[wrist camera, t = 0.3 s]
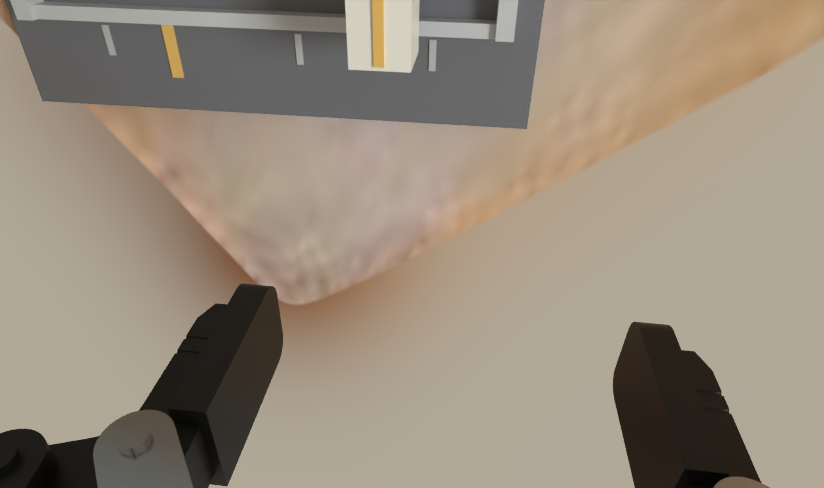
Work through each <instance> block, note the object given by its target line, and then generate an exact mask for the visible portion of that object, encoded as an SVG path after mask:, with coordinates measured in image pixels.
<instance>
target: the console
mask: <svg viewBox="0 0 824 488" xmlns="http://www.w3.org/2000/svg"><path fill="white" fill-rule="evenodd" d="M5 1H6V3H7V6H8V9H9V11H10V14H11V17H12V19H13V22H14V25H15V28H16V30H17V33H18V36H19V38H20V41H21V44H22V46H23V49H24V52H25V55H26V57H27V60H28V62H29V65H30V68H31V71H32V73H33V76H34V79H35V82H36V84H37V87H38V90H39V92H40V95H41V98H42V100H43V101H53V102H71V103H88V104H105V105H123V106H140V107H157V108H175V109H192V110H209V111H226V112H244V113H261V114H278V115H296V116H313V117H330V118H348V119H365V120H382V121H400V122H417V123H434V124H452V125H469V126H486V127H503V128H521V129H527V123H528V116H529V109H530V102H531V94H532V87H533V80H534V73H535V66H536V59H537V51H538V44H539V37H540V30H541V23H542V16H543V8H544V1H545V0H420V12H419V49H418V55H417V57H416V60H415V63H414V65H413V68H412V71H411V73H406V72H386V71H366V70H348V53H347V33H346V13H345V0H5Z"/></svg>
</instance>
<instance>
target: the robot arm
mask: <svg viewBox="0 0 824 488" xmlns="http://www.w3.org/2000/svg"><path fill="white" fill-rule="evenodd" d="M282 346H283V332H282V325H281V319H280V311H279V305H278V298H277V292H276V289H275V288H274V287H273V286H263V285H252V284H240V285H239V286H238V288H237V289H236V291H235V293H234V294H233V296H232V298H231V299H230V302H229V303H228V305H226V304H215V305H213V306H212V307H211V308H210V309H208V310H207V311H206V312H205V313H204V314H202V315H201V316H199V317H198V318H197V320H196V321H195V323H194V324H193V326H192V328H191V329H190V331H189V332H188V334H187V337H186V339H184V340H183V342H182V343H181V345H180V347H179V348H178V352H177V354H175V355H174V356H173V358H172V359H171V361H170V362H169V364H168V366H167V367H166V369H165V370H164V372H163V374H162V375H161V377H160V378H159V380H158V382H157V383H156V385H155V386H154V388H153V390H152V391H151V393H150V394H149V396H148V397H147V399H146V401H145V402H144V404H143V406H142V407H141V408H140V410H139V411H136V412H133V413H129V414H127V415H125V416H123V417H121V418H119V419H118V420H116V421H114V422H113V423H112V424H110V425H109V426H108V427H107V428H106V429H105V430H104V431H103V432H102V434H101V435H100V436H98V437H93V438H88V439H83V440H77V441H71V442H65V443H60V444H53V445H48V444H47V442H46V440H45V438H44V437H43V436H42V435H41V434H40V433H38V432H36V431H34V430H30V429H16V430H10V431H6V432H3V433H0V488H208V486H209V484H214V485H222V486H228V483H229V481H230V479H231V476H232V474H233V471H234V469H235V466H236V464H237V462H238V459H239V457H240V454H241V452H242V450H243V447H244V445H245V442H246V440H247V437H248V435H249V433H250V430H251V428H252V425H253V423H254V421H255V418H256V416H257V413H258V411H259V408H260V405H261V404H262V401H263V399H264V396H265V394H266V391H267V389H268V387H269V384H270V382H271V379H272V377H273V375H274V372H275V370H276V367H277V365H278V363H279V360H280V357H281V352H282ZM613 394H614V400H615V404H616V408H617V412H618V416H619V421H620V425H621V430H622V433H623V438H624V443H625V447H626V451H627V456H628V460H629V464H630V469H631V473H632V477H633V481H634V486H635V488H769V487H768V486H766V485H764V484H762V483H761V481H760V479H759V477H758V474H757V472H756V470H755V468H754V465H753V463H752V461H751V458H750V456H749V454H748V452H747V449H746V447H745V445H744V442H743V440H742V438H741V435H740V433H739V431H738V428H737V426H736V424H735V422H734V419H733V417H732V415H731V414H729V408H728V405H727V403H726V401H725V399H724V396H722V395H721V389H720V387H719V385H718V382H717V380H716V378H715V376H714V373H713V371H712V370H711V369H710V368H709V367H708V366H707V365H706V364H705V362H704V361H703V360H702V359H701V358H700V357H699V356H698V355H697V354H696V353H695V352H694V351H684V350H681V349H680V346H679V343H678V341H677V338H676V336H675V333H674V331H673V329H672V327H671V326H669V325H663V324H652V323H641V322H633V323H632V324H631V325H630V327H629V330H628V333H627V336H626V339H625V341H624V344H623V347H622V350H621V353H620V356H619V359H618V362H617V365H616V368H615V371H614V377H613Z"/></svg>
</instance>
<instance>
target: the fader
mask: <svg viewBox="0 0 824 488" xmlns="http://www.w3.org/2000/svg"><path fill="white" fill-rule="evenodd" d="M419 12H420V0H345V13H346V33H347V53H348V70H366V71H386V72H406V73H411V71H412V68H413V65H414V63H415V60H416V57H417V55H418V49H419Z"/></svg>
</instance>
